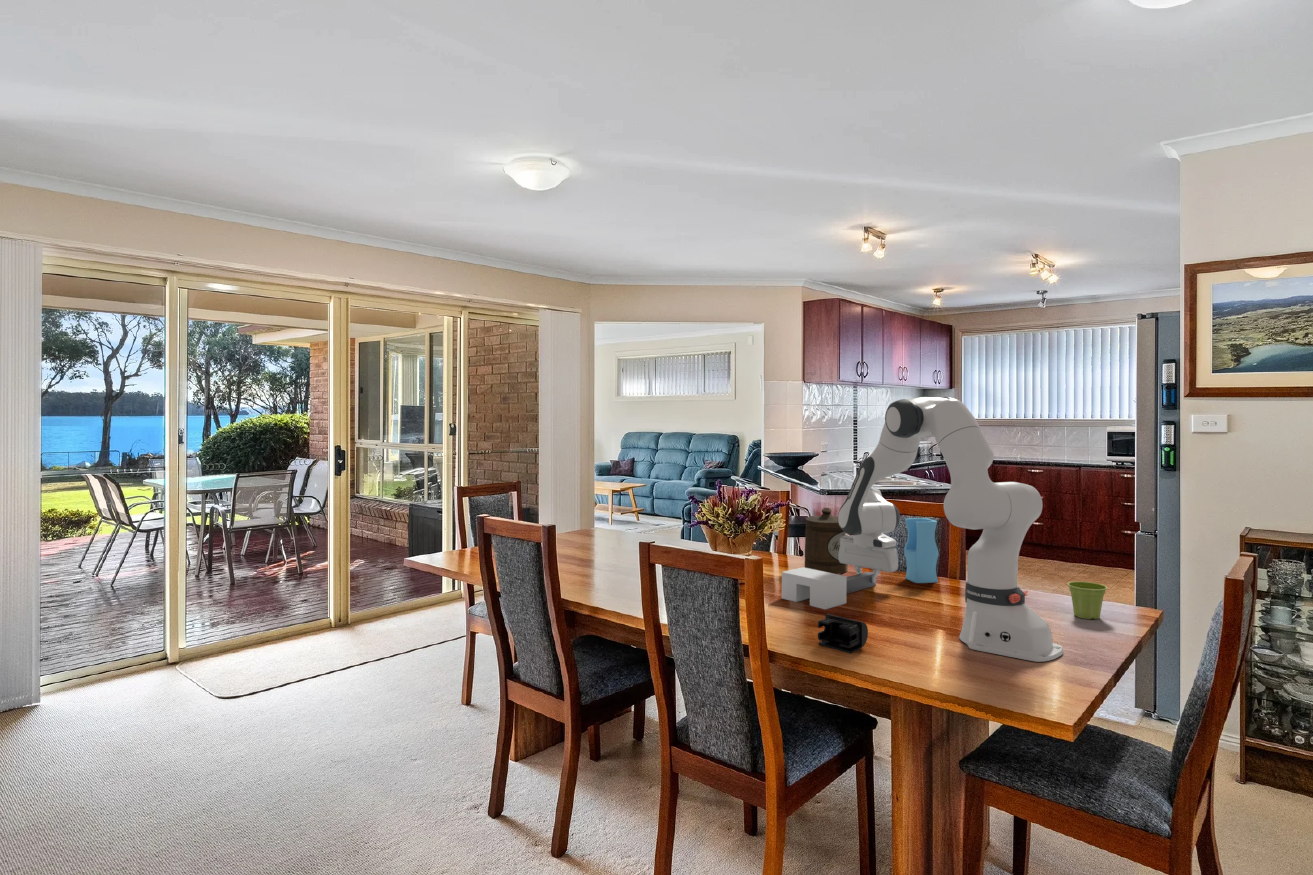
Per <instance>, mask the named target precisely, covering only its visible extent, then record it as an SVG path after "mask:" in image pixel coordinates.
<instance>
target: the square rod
mask: <svg viewBox="0 0 1313 875" xmlns="http://www.w3.org/2000/svg"><path fill="white" fill-rule="evenodd" d="M873 574H874V573H873V572H872V571H866V572H862V573H861V574H857V573H856V574H854V575H850V576H847V586H846V595H847V594H850V593H854V592H857V591H862V590H865V589H869V588H873V587H876V586H877V582H876V583H871V582H870V577H872V576H873Z"/></svg>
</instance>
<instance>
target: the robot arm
mask: <svg viewBox="0 0 1313 875" xmlns="http://www.w3.org/2000/svg"><path fill="white" fill-rule="evenodd" d="M884 420H885V421H884V424H883V426H882V430H881V433H880V436H879V440H878V443H877V445H876V447H875V449H874V450H873V451H872V453H871V454H870V455H869V456H867V457H866V458H864V460H862V462H861V464H860V466H859V467H858V468H859V469H858V470H857V472H856V475H855V477H854V479H853V482H852V484H851V486H850V489H849V491H848V494H847V497H846V498H845V500H844V502H843V503H842V505H841V506H840V508H839V511H838V513H837V517H838V524H839V526H840V528H841V529H842V530H843V531H844V532H845V533H847V534H848V535H844V536H842V537H841V538H840V547H839V555H838V560H839V562H840V563H843V564H848V565H849V566H854V570H855V573H856V575H857V574H861V573H863V572H862V569H863V568H865V569H870V570H871V572H872V573H874V574H873V576H872V577H870V582H871V583H876V584H877V581H878V579H877V578H878V576H879V574H880V573H881V572H885V573H895V572H896V571H897V570H898V568H899V558H898V557H899V556H898V551H897V548H895V547H896V546H897V541H896V540H897V539H894V538H892V537H890V536H888V535H886V534H887V533H892V532H894V531H895V530H896V529H897V528H898V527H899V525H900V523H901V522H900V519H901V514H900V511H899V508H898V507H897V506H896V505H895V504H894V503H893V502H889V501H888V500H886V499H885V498H884V497H883V495H882V492H881V490H880V489H878V488H872V487H873V486H874V485H875V484H876V483H877V482H879V481H882V480H883V479H885V478H888V477H891V476H894V475H898V474H900V473H903V472H905V471H907V470H908V469H909V468H910V467H911V466H912V465H913V464H914V462H915V459H916V457H917V455H918V450H919V447H920V443H921V438H934V439H935V442H936V443H937V446H938V448H939V450H940V452H941V455H942V456H943V459H944V461H945V463H946V467H947V469H948V472H949V475H950V488H949V490H948V492H947V493H946V494H945V497H944V501H943V512H944V514H945V517H946V519H947V520H948V522H949V523H950V524H952V525H953V526H954V527H957V528H962V529H968V530H982V533H981V535H980V536H979V539H978V540H977V541H976V542H975V543H974V544H972V545H971V547H970V548H969V550H968V552H967V580H966V581H965V587H964V589H965V590H964V600H965V602H964V603H965V604H966V605H965V613H964V620H963V624H962V628H961V631H960V634H959V640H960V641H962V642H963V643H965V644H966V645H967V647H968V648H969V649H970V650H973V651H974V650H975V651H979V652H984V653H989V654H994V655H999V656H1005V657H1009V658H1016V659H1020V660H1025V661H1030V662H1037V663H1038V662H1039V663H1041V662H1048V661H1052V660H1055V659H1057V658H1059V657H1061V656H1062V655H1063V654H1064V648H1063V646H1062V645H1061V644H1057V643H1054V642H1053V634H1052V631H1051V627H1050V625H1049V623H1048V622H1047V621H1046V620H1045V619H1044V618H1042V617H1041V616H1040V615H1039V614H1037V613H1036V612H1035V610H1033V609H1032V608H1031V607H1030V606H1029V605H1027V604H1026V599H1025V598H1026V597H1027V596H1028V595H1029V594H1028V592H1029V591H1028V590H1025V591H1023V590H1022V589H1021V588H1020V587H1019V586H1018V570H1019V556H1020V551H1021V546H1022V545H1023V541H1024V539H1025V537H1026V534H1027V532H1028V531H1029V529H1030V527H1031V526H1032V524H1034V522H1036V521H1037V519H1039V518H1040V516H1041V514H1042V511H1043V499H1042V496H1041V494H1040V492H1039V491H1038V490H1037V489H1036V487H1034V486H1033V485H1029V484H1026V483H1023V482H1022V483H1021V482H1017V481H1002V482H994V481H992V480H991V478H990V476H989V471H988V469H989V468H990V467H991V465H992V464H993V461H994V458H995V454H994V452H993V449H992V448H991V446H990V444H989V441H988V439H987V438H986V436H985V434H984V432H983V430H982V428H981V427H980V425H979V423H978V421H977V419H976V418H975V416H974V415H973V414H972V412H971V411H970V410H969V408H968V407H967V406H966V405H965V403H963V402H962V401H961V400H959V399H957V398H955V397H950V396H949V397H948V396H943V397H938V396H936V397H935V396H934V397H932V396H930V397H929V396H921V397H913V398H908V399H907V398H903V399H898V400H895V401H893V402H891V403H890V404H889V405H888V407H887V408H886V411H885V415H884Z"/></svg>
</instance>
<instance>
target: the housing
mask: <svg viewBox="0 0 1313 875" xmlns="http://www.w3.org/2000/svg"><path fill="white" fill-rule="evenodd" d="M847 577H848V576H846V575H843V574H833V573H829V572H824V571H819V570H814V569H809V568H805V566H803V567H797V568H793V569H788V570H784V571H781V599H783V600H787V601H790V602H794V603H798V602H801V601H805V600H808V599H809V606H811V607H814V608H817V609H818V608H819V609H822V610H828V609H832V608H835V607H839V606H842V605H845V604H847V594H846V586H847Z"/></svg>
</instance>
